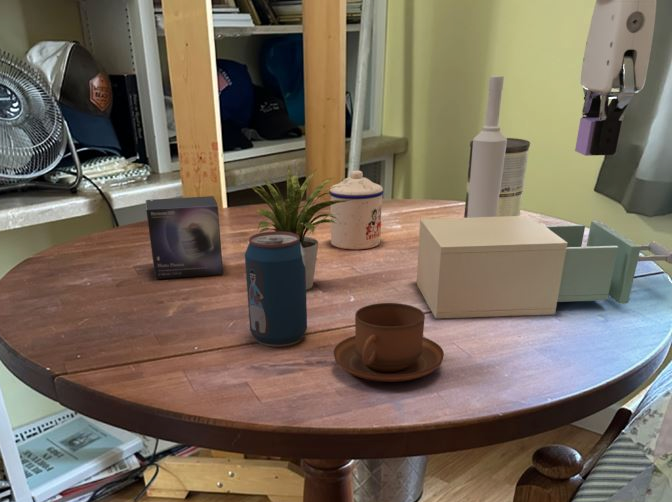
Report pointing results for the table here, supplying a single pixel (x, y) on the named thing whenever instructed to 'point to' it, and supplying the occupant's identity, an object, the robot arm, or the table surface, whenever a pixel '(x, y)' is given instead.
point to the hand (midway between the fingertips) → (595, 150)
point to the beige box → (489, 266)
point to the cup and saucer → (388, 344)
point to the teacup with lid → (356, 213)
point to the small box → (185, 237)
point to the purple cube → (586, 135)
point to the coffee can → (508, 178)
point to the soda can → (276, 288)
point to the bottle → (488, 158)
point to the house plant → (296, 216)
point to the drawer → (601, 263)
